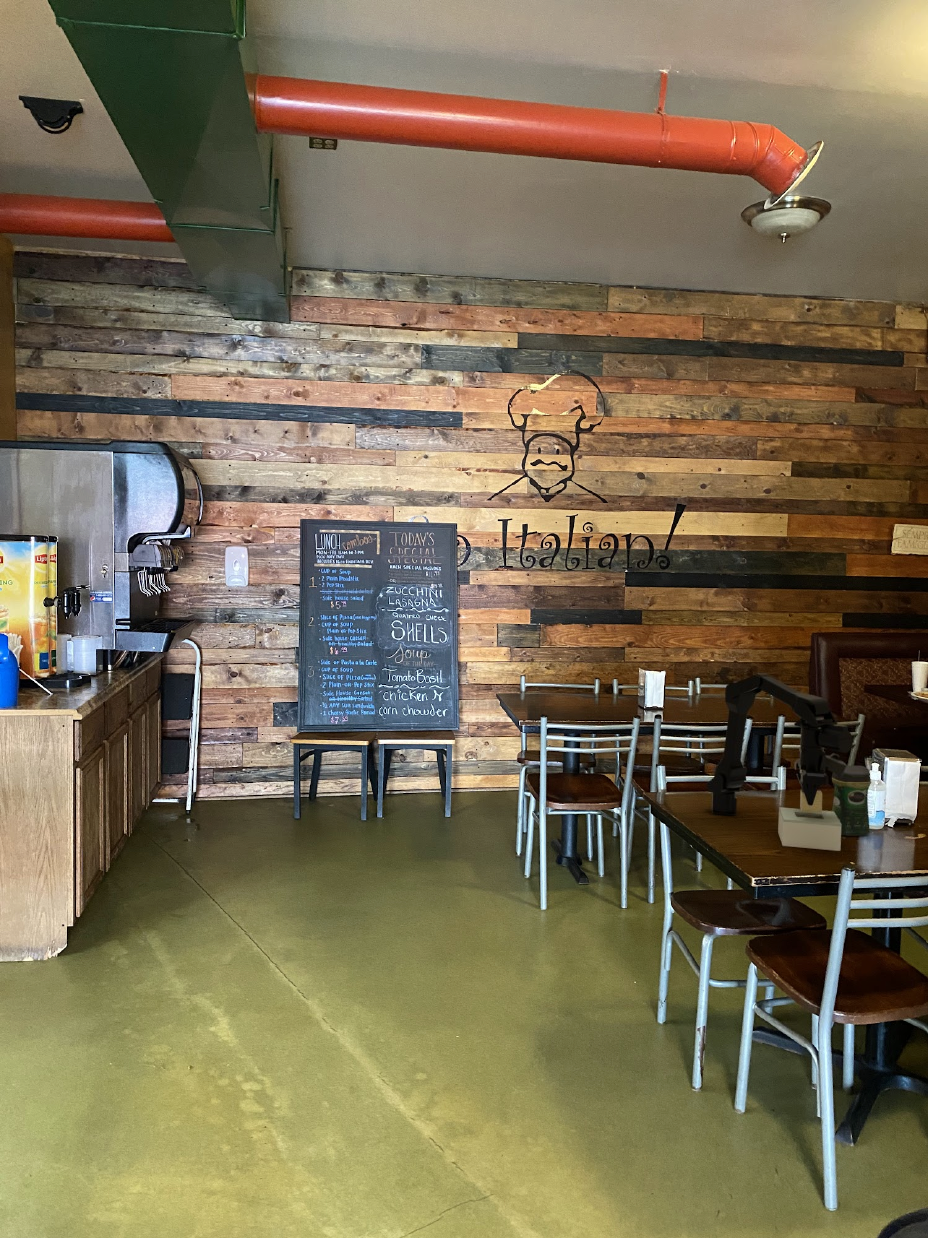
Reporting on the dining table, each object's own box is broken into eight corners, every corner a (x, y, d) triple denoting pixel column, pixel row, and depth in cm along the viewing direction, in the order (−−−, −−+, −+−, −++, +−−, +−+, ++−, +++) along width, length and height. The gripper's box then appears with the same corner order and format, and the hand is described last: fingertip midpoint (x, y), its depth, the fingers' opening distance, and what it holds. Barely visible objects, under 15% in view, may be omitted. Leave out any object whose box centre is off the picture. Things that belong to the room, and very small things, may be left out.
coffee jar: (859, 828, 244) (862, 763, 243) (873, 837, 236) (876, 769, 235) (825, 828, 244) (828, 762, 243) (838, 836, 236) (840, 769, 235)
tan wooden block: (801, 811, 230) (802, 792, 230) (800, 808, 233) (800, 789, 233) (821, 812, 229) (822, 793, 229) (820, 809, 232) (820, 790, 232)
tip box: (782, 845, 228) (783, 819, 227) (778, 832, 239) (779, 807, 239) (840, 851, 224) (841, 824, 224) (832, 837, 236) (834, 811, 235)
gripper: (851, 754, 219) (848, 816, 220) (838, 740, 237) (836, 797, 238) (803, 751, 222) (801, 812, 223) (795, 738, 240) (793, 794, 241)
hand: (809, 803), depth 231 cm, fingers closed on tan wooden block, 3 cm apart
